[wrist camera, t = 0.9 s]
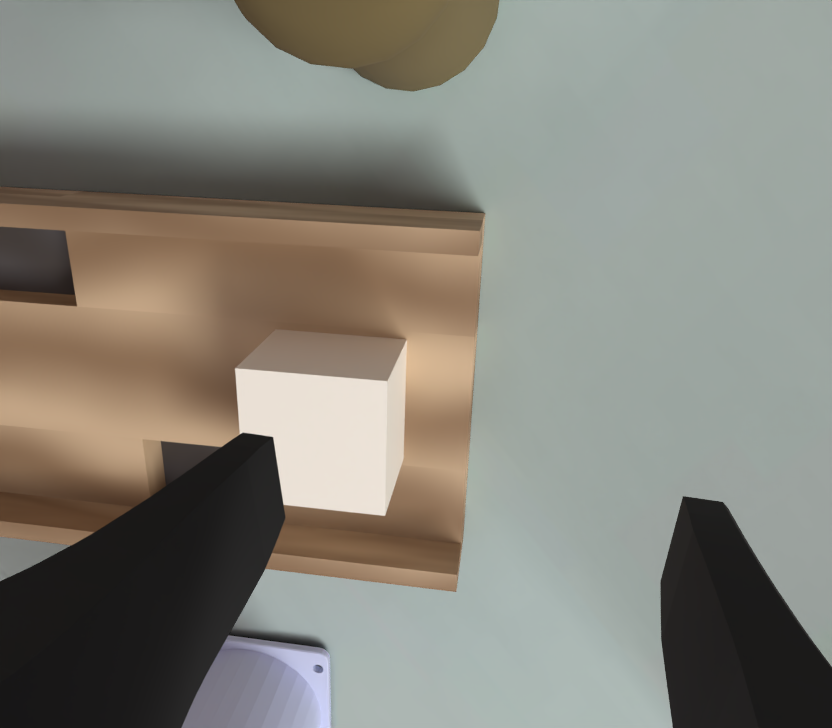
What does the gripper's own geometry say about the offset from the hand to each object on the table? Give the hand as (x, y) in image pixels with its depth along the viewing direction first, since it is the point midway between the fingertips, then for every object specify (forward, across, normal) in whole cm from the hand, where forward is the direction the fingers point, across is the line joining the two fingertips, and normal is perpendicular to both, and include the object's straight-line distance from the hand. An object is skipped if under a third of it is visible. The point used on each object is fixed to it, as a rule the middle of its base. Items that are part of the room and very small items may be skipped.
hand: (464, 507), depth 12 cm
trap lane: (+12, +16, +7) cm, 21 cm away
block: (+12, +7, +6) cm, 15 cm away
